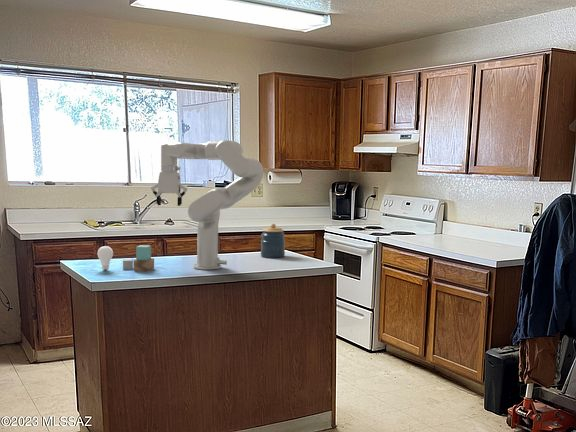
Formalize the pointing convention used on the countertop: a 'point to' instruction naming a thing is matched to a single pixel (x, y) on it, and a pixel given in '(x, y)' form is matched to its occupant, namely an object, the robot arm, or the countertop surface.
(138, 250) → the teal cube
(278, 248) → the canister
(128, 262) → the grey cube
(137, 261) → the walnut block
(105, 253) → the light bulb
